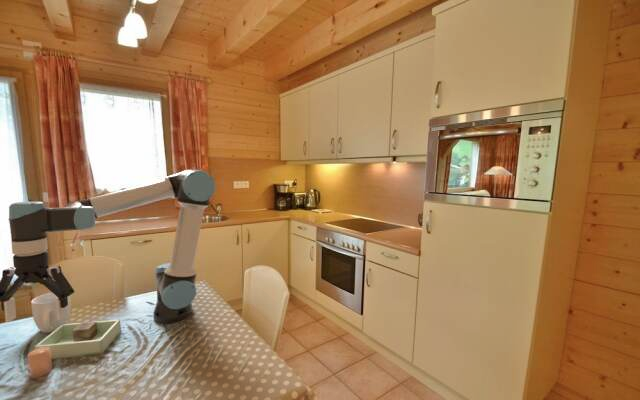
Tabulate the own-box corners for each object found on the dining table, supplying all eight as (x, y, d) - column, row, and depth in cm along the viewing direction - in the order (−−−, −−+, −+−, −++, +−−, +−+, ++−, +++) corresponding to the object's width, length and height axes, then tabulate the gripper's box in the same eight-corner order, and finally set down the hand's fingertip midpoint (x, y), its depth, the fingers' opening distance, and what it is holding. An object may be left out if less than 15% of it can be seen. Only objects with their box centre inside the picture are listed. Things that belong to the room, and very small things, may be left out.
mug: (67, 335, 108) (64, 303, 106) (27, 345, 102) (23, 311, 100) (74, 317, 120) (71, 288, 119) (38, 325, 114) (35, 294, 113)
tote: (121, 331, 111) (120, 319, 110) (101, 354, 98) (100, 340, 97) (63, 336, 107) (62, 324, 106) (35, 360, 94) (33, 347, 93)
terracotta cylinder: (56, 365, 92) (54, 345, 91) (44, 376, 87) (42, 356, 86) (38, 367, 91) (35, 347, 90) (25, 379, 86) (22, 358, 85)
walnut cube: (97, 333, 108) (96, 321, 107) (89, 341, 103) (88, 329, 102) (82, 335, 107) (81, 322, 106) (73, 343, 102) (72, 330, 101)
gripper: (85, 248, 91) (89, 310, 94) (-6, 249, 87) (0, 314, 89) (68, 255, 84) (73, 322, 86) (-32, 257, 80) (-24, 328, 82)
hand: (36, 318), depth 88 cm, fingers open, 13 cm apart
